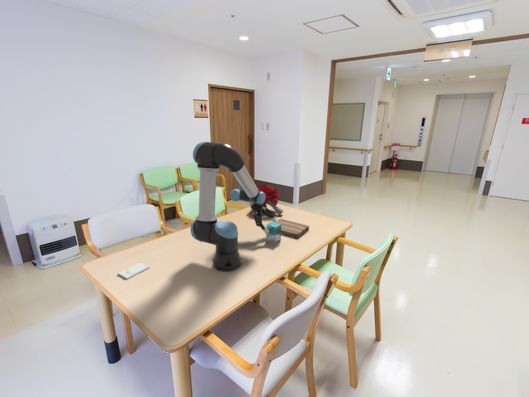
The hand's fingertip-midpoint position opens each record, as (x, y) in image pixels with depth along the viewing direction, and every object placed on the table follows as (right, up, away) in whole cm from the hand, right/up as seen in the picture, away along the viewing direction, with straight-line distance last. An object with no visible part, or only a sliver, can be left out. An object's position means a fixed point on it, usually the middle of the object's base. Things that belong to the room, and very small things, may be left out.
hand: (273, 229), depth 173 cm
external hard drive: (-73, -18, -36) cm, 84 cm away
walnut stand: (+11, -2, +16) cm, 20 cm away
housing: (0, -7, 0) cm, 7 cm away
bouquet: (-4, +8, +51) cm, 52 cm away
